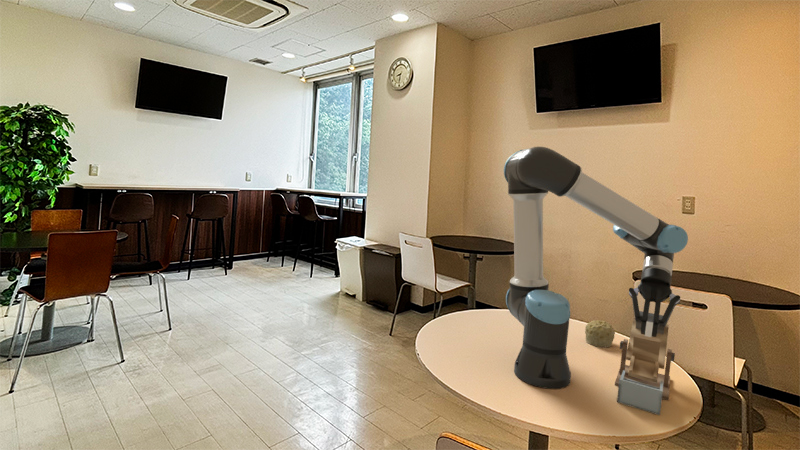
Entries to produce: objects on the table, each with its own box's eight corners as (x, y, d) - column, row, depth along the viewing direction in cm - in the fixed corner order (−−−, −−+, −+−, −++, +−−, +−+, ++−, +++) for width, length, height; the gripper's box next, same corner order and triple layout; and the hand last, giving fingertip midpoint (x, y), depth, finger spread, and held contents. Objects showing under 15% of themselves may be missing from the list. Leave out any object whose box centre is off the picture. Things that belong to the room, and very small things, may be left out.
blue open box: (621, 387, 109) (623, 366, 108) (661, 399, 104) (663, 377, 103) (616, 401, 102) (619, 379, 101) (659, 415, 96) (662, 391, 96)
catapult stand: (620, 365, 123) (623, 332, 122) (670, 379, 116) (675, 344, 114) (613, 384, 111) (617, 348, 109) (670, 401, 103) (674, 362, 102)
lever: (633, 320, 124) (635, 297, 119) (668, 327, 119) (671, 303, 114) (622, 373, 108) (624, 349, 104) (662, 384, 103) (665, 359, 99)
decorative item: (605, 359, 137) (626, 338, 135) (582, 339, 137) (603, 318, 136) (597, 348, 146) (617, 329, 144) (575, 330, 147) (595, 310, 145)
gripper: (682, 285, 119) (675, 358, 107) (631, 277, 126) (619, 345, 115) (684, 270, 114) (677, 345, 102) (631, 263, 121) (619, 332, 110)
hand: (646, 345), depth 108 cm, fingers closed
